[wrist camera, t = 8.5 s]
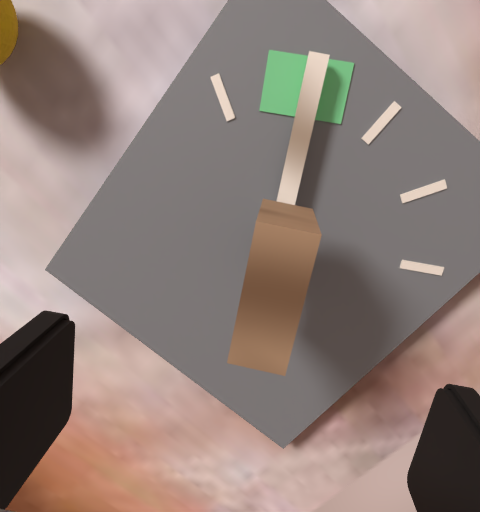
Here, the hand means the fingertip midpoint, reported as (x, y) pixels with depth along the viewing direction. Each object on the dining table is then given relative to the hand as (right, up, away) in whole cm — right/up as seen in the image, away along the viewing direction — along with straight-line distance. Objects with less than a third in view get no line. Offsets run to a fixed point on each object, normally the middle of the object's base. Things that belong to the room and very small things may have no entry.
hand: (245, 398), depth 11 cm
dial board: (+2, +5, +15) cm, 16 cm away
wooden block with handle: (+3, +8, +12) cm, 15 cm away
